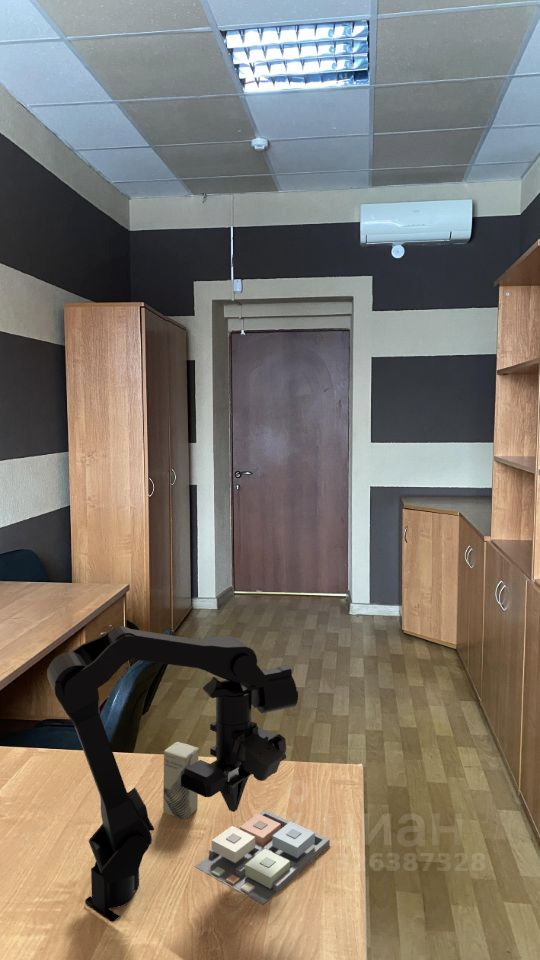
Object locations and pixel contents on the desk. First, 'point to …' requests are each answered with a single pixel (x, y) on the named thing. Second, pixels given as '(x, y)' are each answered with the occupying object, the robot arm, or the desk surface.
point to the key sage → (266, 868)
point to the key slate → (293, 839)
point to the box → (178, 780)
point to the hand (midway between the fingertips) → (233, 810)
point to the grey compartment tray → (236, 871)
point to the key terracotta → (261, 829)
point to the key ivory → (233, 844)
